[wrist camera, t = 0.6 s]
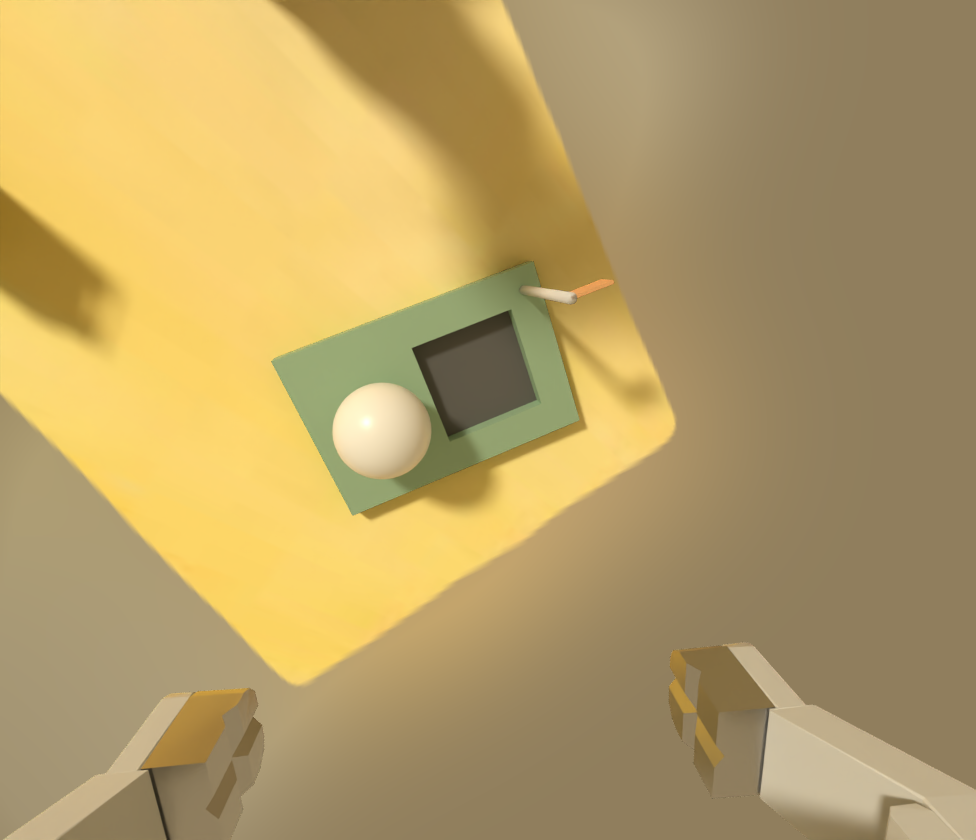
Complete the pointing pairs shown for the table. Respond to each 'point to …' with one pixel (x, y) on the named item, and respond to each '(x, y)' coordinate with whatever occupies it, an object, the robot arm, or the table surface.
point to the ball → (381, 430)
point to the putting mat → (444, 377)
